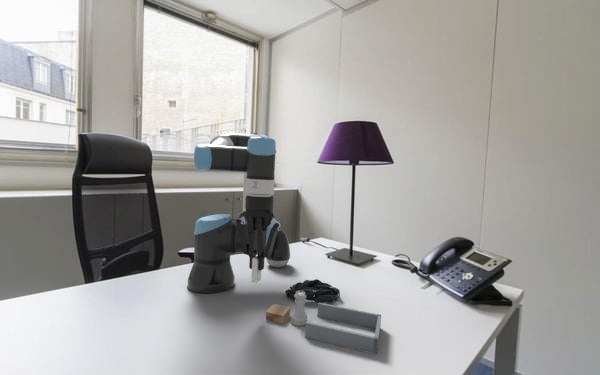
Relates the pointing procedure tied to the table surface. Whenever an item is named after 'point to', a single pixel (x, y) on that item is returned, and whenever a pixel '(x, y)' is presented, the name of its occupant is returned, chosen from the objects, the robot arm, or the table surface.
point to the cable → (318, 295)
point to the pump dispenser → (279, 251)
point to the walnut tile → (278, 313)
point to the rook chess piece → (299, 310)
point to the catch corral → (344, 336)
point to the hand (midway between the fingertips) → (256, 280)
